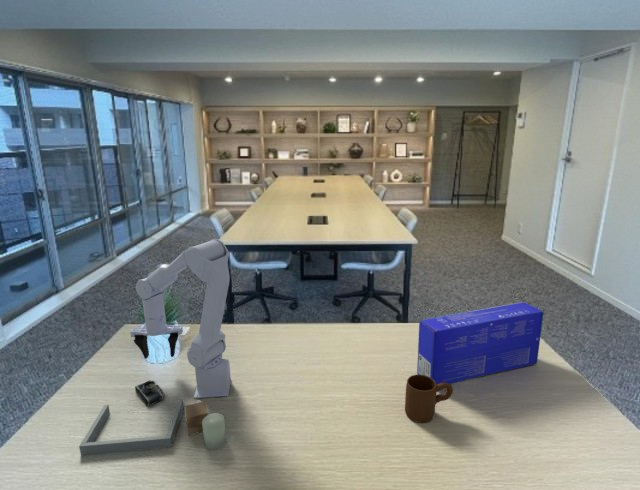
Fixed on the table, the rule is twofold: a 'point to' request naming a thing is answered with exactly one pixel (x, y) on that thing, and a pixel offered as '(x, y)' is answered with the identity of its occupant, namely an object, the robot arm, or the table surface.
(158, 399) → the camera
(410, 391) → the mug
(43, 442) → the table surface
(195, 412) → the walnut block
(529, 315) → the toner cartridge box
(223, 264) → the robot arm
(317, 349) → the table surface
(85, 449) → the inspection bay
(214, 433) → the rounded green capsule
